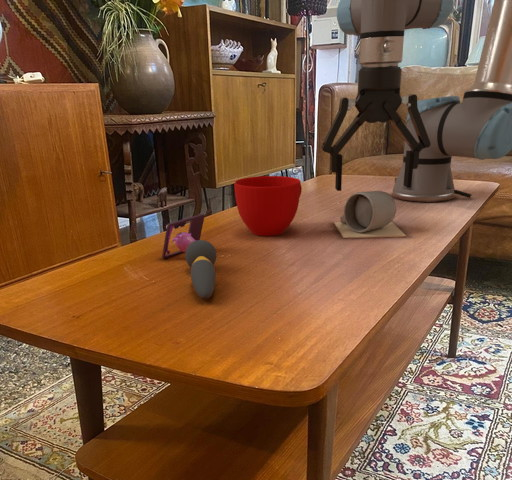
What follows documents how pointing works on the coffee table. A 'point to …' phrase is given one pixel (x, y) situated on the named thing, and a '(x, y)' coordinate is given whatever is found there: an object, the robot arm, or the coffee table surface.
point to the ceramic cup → (267, 203)
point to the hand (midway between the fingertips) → (372, 188)
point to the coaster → (384, 231)
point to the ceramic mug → (368, 211)
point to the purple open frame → (183, 234)
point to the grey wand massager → (202, 267)
